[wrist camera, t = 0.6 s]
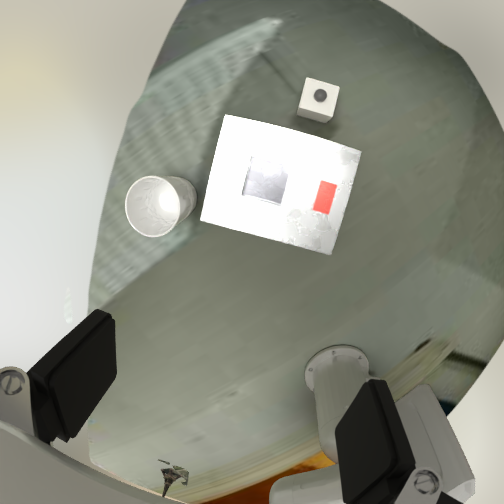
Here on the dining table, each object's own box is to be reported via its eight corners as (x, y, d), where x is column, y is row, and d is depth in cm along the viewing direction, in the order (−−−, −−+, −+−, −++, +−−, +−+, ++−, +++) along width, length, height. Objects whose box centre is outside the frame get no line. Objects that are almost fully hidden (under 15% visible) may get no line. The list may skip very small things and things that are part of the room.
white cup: (187, 164, 43) (162, 164, 33) (209, 209, 45) (190, 221, 35) (147, 187, 45) (115, 194, 35) (168, 230, 46) (141, 246, 37)
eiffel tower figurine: (187, 484, 72) (178, 514, 59) (159, 476, 72) (148, 505, 59) (189, 467, 67) (179, 501, 55) (157, 457, 68) (144, 490, 55)
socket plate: (357, 152, 40) (362, 151, 37) (328, 250, 45) (331, 257, 42) (228, 117, 40) (224, 113, 37) (204, 217, 45) (198, 221, 42)
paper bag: (455, 380, 50) (503, 465, 24) (430, 422, 55) (463, 503, 28) (387, 386, 52) (425, 494, 25) (366, 429, 56) (387, 526, 29)
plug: (332, 97, 38) (341, 84, 31) (325, 123, 39) (334, 115, 32) (303, 88, 38) (307, 74, 31) (296, 115, 39) (299, 105, 33)
